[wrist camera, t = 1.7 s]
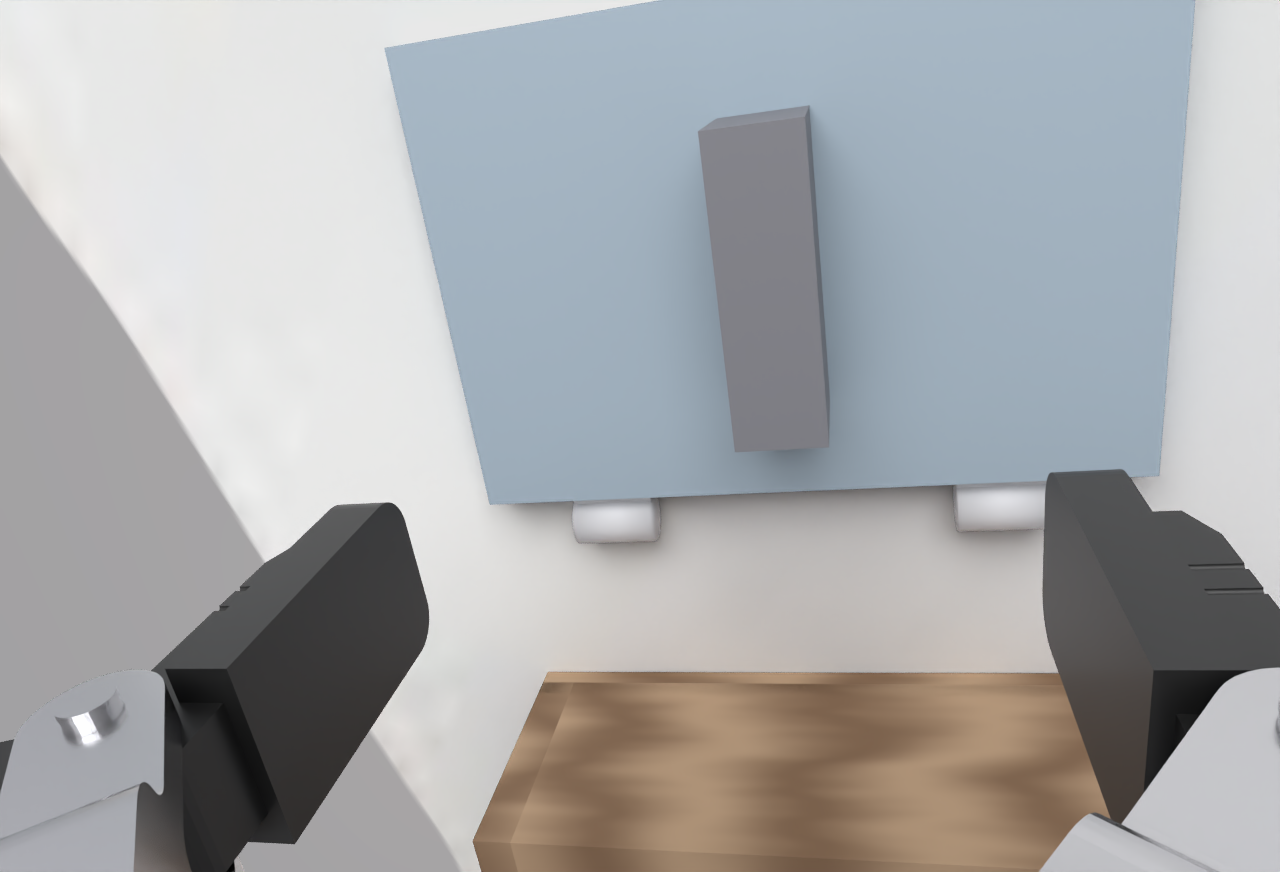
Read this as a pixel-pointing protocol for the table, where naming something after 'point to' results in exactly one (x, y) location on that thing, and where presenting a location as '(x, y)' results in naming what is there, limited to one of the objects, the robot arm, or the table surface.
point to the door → (805, 246)
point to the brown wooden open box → (790, 774)
